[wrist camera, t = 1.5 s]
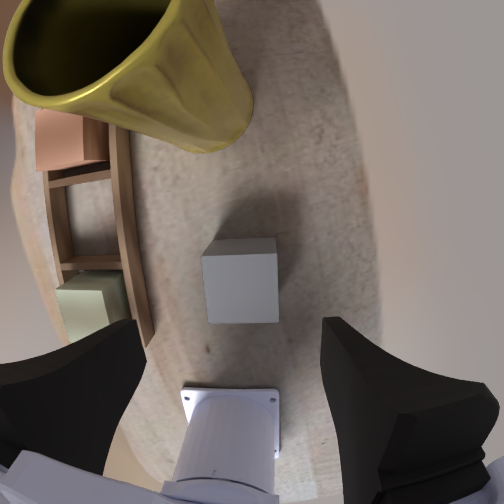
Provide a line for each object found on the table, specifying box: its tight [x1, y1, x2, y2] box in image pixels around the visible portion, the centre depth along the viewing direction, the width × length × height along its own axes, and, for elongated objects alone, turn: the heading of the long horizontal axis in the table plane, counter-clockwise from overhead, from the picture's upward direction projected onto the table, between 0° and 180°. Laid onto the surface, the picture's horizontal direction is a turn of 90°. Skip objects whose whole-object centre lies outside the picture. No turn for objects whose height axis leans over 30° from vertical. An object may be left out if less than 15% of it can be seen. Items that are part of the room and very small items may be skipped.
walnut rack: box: [35, 108, 155, 348], centre depth 18 cm, size 18×6×4 cm, turn 3°
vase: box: [3, 0, 253, 153], centre depth 11 cm, size 6×6×14 cm
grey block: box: [201, 237, 279, 324], centre depth 19 cm, size 4×4×4 cm
